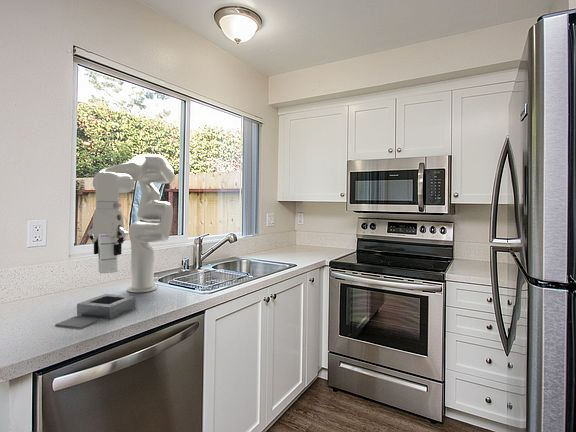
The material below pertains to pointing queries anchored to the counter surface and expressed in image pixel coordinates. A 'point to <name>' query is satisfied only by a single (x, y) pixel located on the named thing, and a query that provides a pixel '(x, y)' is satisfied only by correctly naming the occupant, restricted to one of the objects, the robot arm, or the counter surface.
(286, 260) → the counter surface
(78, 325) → the charcoal mat
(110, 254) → the syrup box
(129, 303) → the gray square frame
